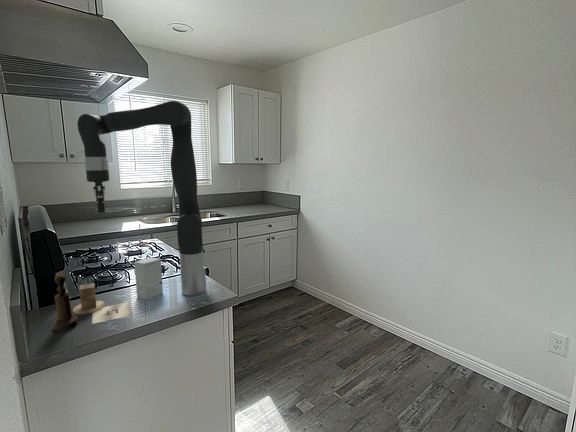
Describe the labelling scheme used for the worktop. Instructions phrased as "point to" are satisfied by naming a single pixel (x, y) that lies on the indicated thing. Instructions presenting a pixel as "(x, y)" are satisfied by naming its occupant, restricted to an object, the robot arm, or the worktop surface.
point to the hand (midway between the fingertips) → (101, 210)
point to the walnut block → (87, 296)
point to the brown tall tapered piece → (63, 307)
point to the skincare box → (148, 278)
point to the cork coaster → (98, 306)
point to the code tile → (111, 312)
